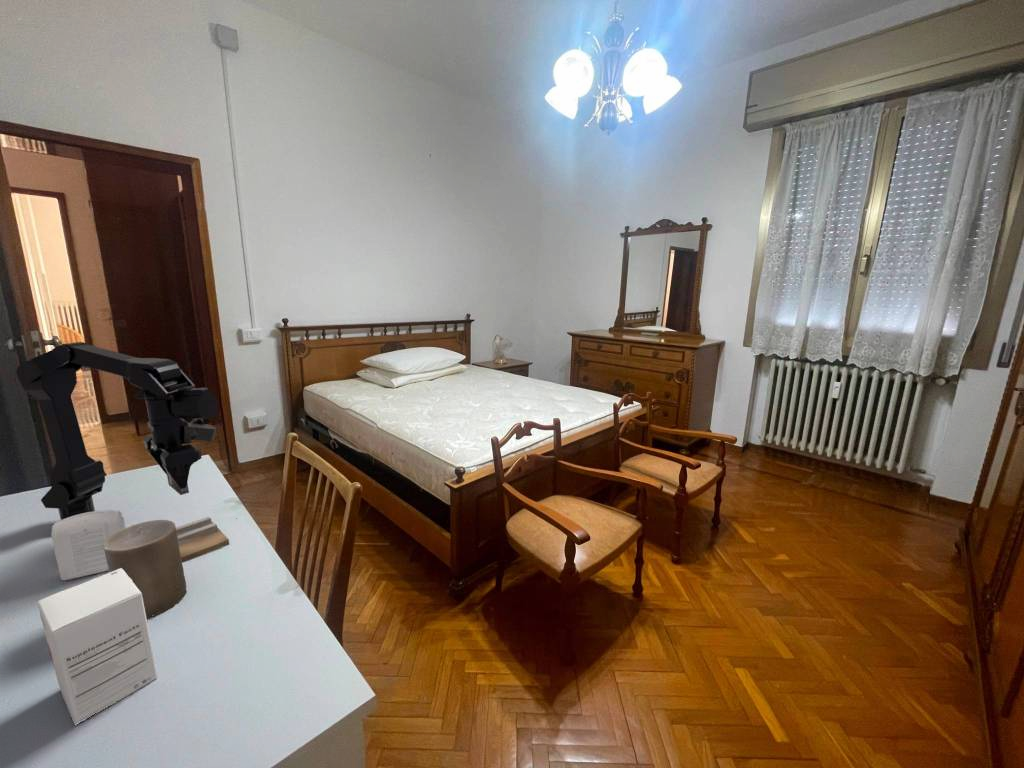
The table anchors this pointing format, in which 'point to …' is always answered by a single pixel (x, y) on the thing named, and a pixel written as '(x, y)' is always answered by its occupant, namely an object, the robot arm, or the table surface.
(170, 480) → the mini dv tape
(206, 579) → the table surface
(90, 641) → the supplement box
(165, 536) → the pillar candle
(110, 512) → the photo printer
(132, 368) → the robot arm
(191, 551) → the rail panel
